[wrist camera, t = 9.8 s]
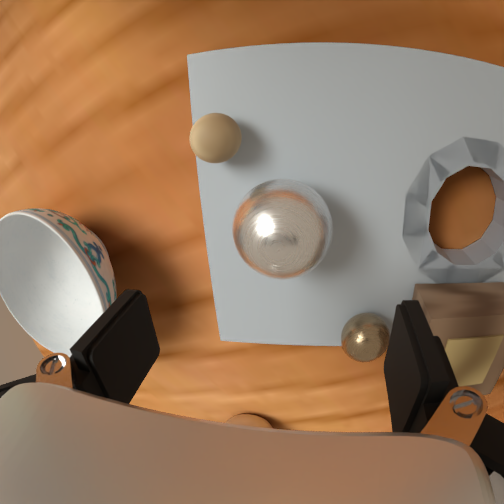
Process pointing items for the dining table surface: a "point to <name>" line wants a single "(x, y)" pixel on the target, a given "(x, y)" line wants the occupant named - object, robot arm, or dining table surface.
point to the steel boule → (282, 229)
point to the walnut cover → (468, 328)
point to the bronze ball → (365, 337)
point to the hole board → (347, 175)
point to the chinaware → (53, 276)
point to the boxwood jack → (215, 138)
